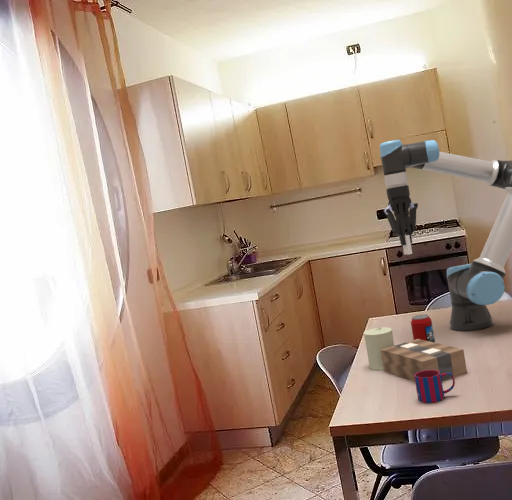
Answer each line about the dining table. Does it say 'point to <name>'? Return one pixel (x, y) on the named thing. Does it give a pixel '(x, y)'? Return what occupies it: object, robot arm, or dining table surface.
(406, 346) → the peg
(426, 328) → the beverage can
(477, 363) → the dining table surface
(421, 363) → the socket block
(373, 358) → the can
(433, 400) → the mug
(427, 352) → the peg
